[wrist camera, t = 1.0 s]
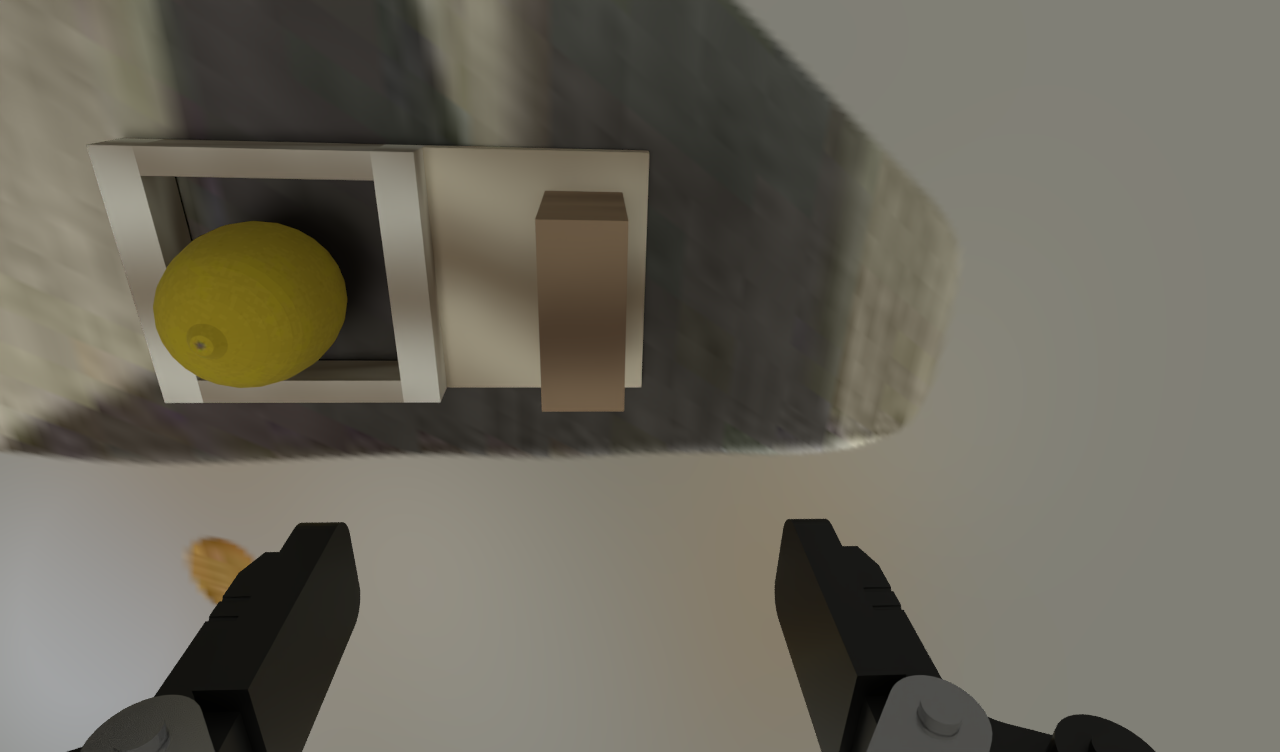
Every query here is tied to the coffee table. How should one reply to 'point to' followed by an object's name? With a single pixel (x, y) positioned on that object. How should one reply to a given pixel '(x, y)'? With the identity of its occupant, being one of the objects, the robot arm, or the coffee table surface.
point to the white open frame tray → (430, 263)
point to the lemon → (250, 304)
